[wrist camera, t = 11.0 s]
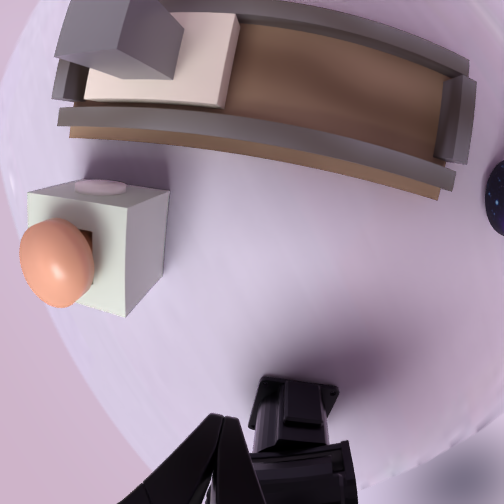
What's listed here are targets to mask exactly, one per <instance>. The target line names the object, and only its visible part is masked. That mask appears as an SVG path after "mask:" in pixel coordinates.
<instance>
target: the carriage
mask: <svg viewBox="0 0 504 504" xmlns="http://www.w3.org/2000/svg"><path fill="white" fill-rule="evenodd" d="M239 31H240V25H239V22H238V19H237V17H236V14H232V13H212V12H172V13H169V12H168V10H167V9H166V8H165V7H164V6H163V5H162V4H161V3H160V2H159V1H158V0H71V1H70V4H69V7H68V10H67V13H66V16H65V19H64V22H63V26H62V29H61V32H60V36H59V39H58V43H57V47H56V51H55V55H54V57H56V58H60V59H63V60H66V61H70V62H73V63H76V64H79V65H82V66H85V67H88V68H90V69H89V74H88V79H87V84H86V89H85V95H84V99H86V100H92V101H97V102H132V103H158V104H174V105H187V106H199V107H208V108H218V109H224V108H225V102H226V97H227V91H228V86H229V81H230V76H231V70H232V65H233V60H234V55H235V50H236V46H237V41H238V36H239Z"/></svg>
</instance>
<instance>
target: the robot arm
mask: <svg viewBox="0 0 504 504" xmlns="http://www.w3.org/2000/svg"><path fill="white" fill-rule="evenodd" d="M264 382H267V384H265V383H264ZM333 391H334V392H333ZM331 392H333V393H331ZM338 395H339V389H338V387H336V386H329V385H321V384H312V383H305V382H298V381H291V380H284V379H278V378H272V377H262V378H261V379H260V381H259V385H258V389H257V393H256V397H255V400H254V404H253V408H252V412H251V415H250V419H249V423H248V427H249V428H250V429H252V430H255V436H254V445H253V452H252V453H249V451H248V448H247V444H246V441H245V438H244V435H243V432H242V428H241V425H240V422H239V419H238V418H235V417H230V416H225V417H224V416H223V415H220V414H215V413H210V414H209V415H208V416H207V417H206V418H205V419H204V420H203V421H202V422H201V423H200V425H199V426H198V427H197V428H196V429H195V430H194V431H193V432H192V433H191V434H190V435H189V436H188V437H187V438H186V439H185V440H184V441H183V442H182V443H181V444H180V445H179V447H178V448H177V449H176V450H175V451H174V452H173V453H172V454H171V455H170V456H169V457H168V458H167V459H166V460H165V461H164V462H163V463H162V464H161V465H160V466H159V467H158V468H157V469H156V470H155V471H154V472H152V473H151V474H150V475H149V476H148V477H147V478H146V479H145V480H144V481H143V483H141V484H140V485H139V486H138V487H137V488H136V489H134V490H133V491H132V492H131V493H130V494H129V495H128V496H126V497H125V498H124V499H123V500H122V501H120V502H119V503H117V504H202V501H203V499H204V496H205V493H206V491H207V488H208V486H209V483H210V480H211V477H212V483H211V485H210V487H209V489H208V491H207V495H206V496H207V499H206V501H205V504H358V496H357V486H356V479H355V473H354V467H353V462H352V457H351V452H350V446H349V441H348V440H346V441H341V443H336V444H330V445H329V435H328V426H327V417H328V415H329V413H330V411H331V409H332V407H333V405H334V403H335V401H336V399H337V397H338ZM212 473H213V475H212Z"/></svg>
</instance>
